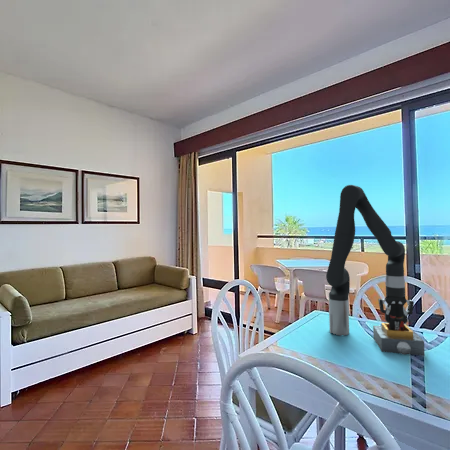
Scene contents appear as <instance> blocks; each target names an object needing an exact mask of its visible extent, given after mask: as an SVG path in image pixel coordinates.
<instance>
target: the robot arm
mask: <svg viewBox="0 0 450 450" xmlns="http://www.w3.org/2000/svg"><path fill="white" fill-rule="evenodd" d="M356 210H357V211H358V212H359V213H360V215H361V217H362V218H363V221H364V223H365V224H366V226H367V228H368V230H369V231H370V232H371V234H372V235H373V237H374V238H375V239H376V241H377V242H378V245H379V246H380V248H381V250H382V252H383V253H384V254H385V256H387V262H386V264H385V282H384V283H385V298H378V299H377V300H378V306H379V311H380V312H381V313H382V314H384V320H385V322H386V323H389V312H390V310H391V308H390V307H391V305H390V306H389V307H388V305H389V303H391V304H403V312H404V324H406V325H407V323H408V317H409V316H410V315H413V311H414V304H415V302H414V300H412V299H406V281H405V280H406V279H405V267H404V265H405V258H406V257H405V256H406V248H405V245H404V244H403V243H402V242H401V241H398V240H396V239H395V237H394V236H393V235H392V231H391V229H390V228H389V226H387V224H386V223H385V221H384V220H383V219H382V217H381V216H380V215H379V214H378V213H377V211H376V210H375V209H374V207H373V205H372V204H371V202H370V201H369V199H368V197H367V194H366V193H365V191H364V190H363V188H362V187H361V186H358V185H354V184H348V185H345V186H344V187H343V188H342V190H341V191H340V196H339V210H338V215H337V216H338V217H337V222H336V227H335V230H334V231H335V232H334V236H333V237H334V238H333V245H332V248H331V249H332V250H331V255H330V261H329V263H328V268H327V270H326V274H325V275H326V278H325V279H326V282H327V284H328V285H330V286H331V288H330V291H329V293H328V302H329V303H328V309H329V311H328V315H329V317H328V318H329V319H328V320H329V321H328V323H329V324H328V325H329V333H330V334H331V333H333V334H332V335H335V334H336V336H342V335H343V336H348V335H349V334H350V317H349V315H350V314H349V313H350V311H349V309H350V308H349V306H350V305H349V297H350V296H349V295H350V291H351V290H350V289H351V287H350V285H351V283H350V282H351V281H350V274H349V273H350V272H348V270H347V269H346V267H345V266H346V262H347V258H348V256H349V254H350V253H351V250H352V249H353V245H354V242H355V235H356V222H355V213H356ZM385 303H387V305H386V308H385V307H384V305H385ZM406 303H407V309H406V308H405V305H406Z"/></svg>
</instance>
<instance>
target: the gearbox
mask: <svg viewBox="0 0 450 450" xmlns="http://www.w3.org/2000/svg"><path fill="white" fill-rule="evenodd" d="M372 326H373V327H372V330H373V331H372V332H373V333H372V334H373V340H374V341H375V343H376V345H377V346H378V348H379V350H380V351H381V353H390V354H392V353H393V354H400V355H414V356H421V357H422V356H423V357H424V356H425V341H424V339H423V338H422V337H420V336H419V334H417V332H416V331H414V330H413V328H411V327H409V326H408V325H407V323H406V324H404V331H402V330H389V323H387V322H381V324H380V325H372Z"/></svg>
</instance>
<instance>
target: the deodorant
mask: <svg viewBox="0 0 450 450" xmlns="http://www.w3.org/2000/svg"><path fill="white" fill-rule="evenodd" d="M387 305H388V304H387ZM390 305H391V307H390V308H391V310H390V312H389V330H402V331H404V312H403V304H391V303H389V305H388V307H389V306H390Z"/></svg>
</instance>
